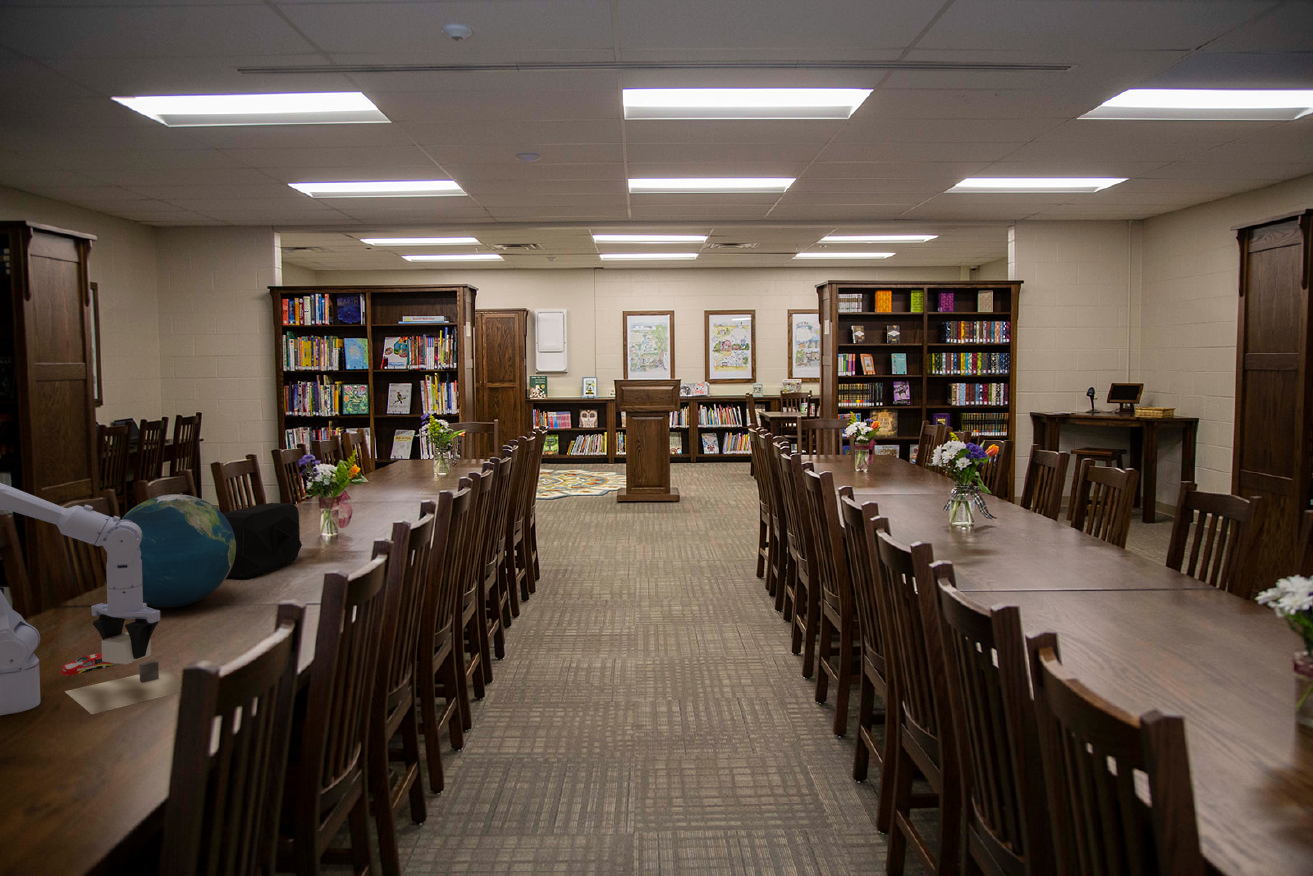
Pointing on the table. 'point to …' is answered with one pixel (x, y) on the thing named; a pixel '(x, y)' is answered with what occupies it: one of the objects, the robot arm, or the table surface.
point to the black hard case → (264, 538)
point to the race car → (85, 664)
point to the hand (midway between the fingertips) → (126, 655)
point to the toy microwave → (120, 649)
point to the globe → (182, 549)
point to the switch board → (128, 689)
